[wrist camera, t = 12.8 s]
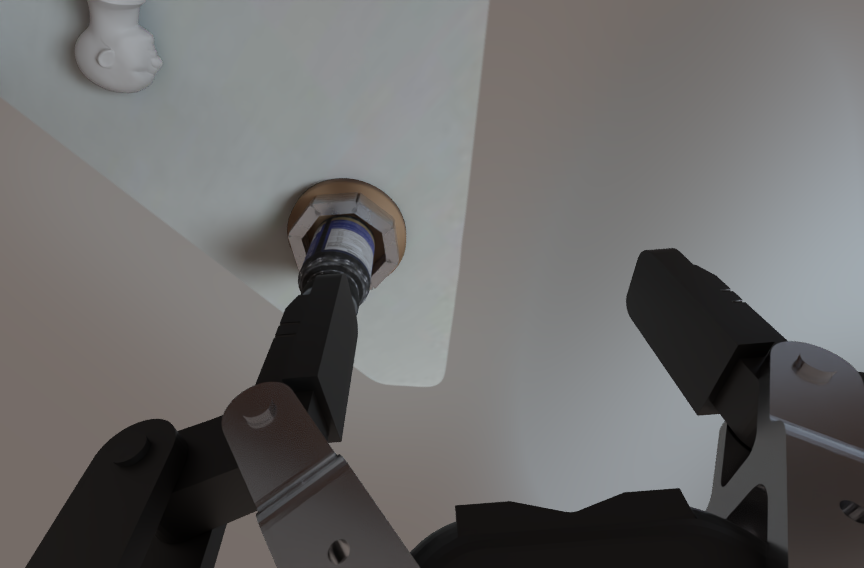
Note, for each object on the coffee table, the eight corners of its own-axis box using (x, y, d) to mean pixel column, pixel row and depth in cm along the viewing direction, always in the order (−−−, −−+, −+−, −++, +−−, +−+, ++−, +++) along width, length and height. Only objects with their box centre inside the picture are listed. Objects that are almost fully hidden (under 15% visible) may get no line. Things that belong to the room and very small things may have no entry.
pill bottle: (337, 272, 42) (318, 345, 33) (302, 228, 39) (271, 296, 30) (386, 250, 41) (380, 320, 32) (355, 202, 38) (339, 265, 29)
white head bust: (158, 95, 34) (81, 63, 31) (178, 0, 30) (92, -48, 27) (148, 116, 31) (63, 83, 28) (170, 14, 27) (73, -37, 24)
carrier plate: (307, 282, 45) (300, 301, 42) (275, 183, 38) (265, 198, 35) (411, 274, 45) (411, 293, 42) (399, 173, 38) (398, 187, 35)
